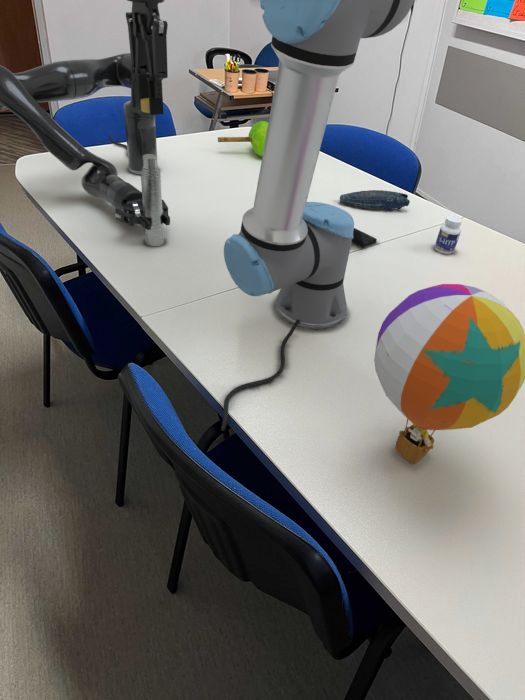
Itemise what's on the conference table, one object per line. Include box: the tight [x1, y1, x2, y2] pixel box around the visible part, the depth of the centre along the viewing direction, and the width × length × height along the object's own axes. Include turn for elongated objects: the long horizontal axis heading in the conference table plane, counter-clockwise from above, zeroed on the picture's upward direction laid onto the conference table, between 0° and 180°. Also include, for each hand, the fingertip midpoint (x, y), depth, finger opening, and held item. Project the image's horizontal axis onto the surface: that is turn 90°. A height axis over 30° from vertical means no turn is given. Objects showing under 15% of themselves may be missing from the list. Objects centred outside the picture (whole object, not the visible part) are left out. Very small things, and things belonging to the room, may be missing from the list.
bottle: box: [140, 154, 165, 247], centre depth 125 cm, size 4×4×22 cm
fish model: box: [339, 189, 411, 211], centre depth 158 cm, size 7×21×5 cm, turn 84°
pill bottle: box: [434, 215, 463, 255], centre depth 137 cm, size 5×5×9 cm
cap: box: [141, 98, 150, 113], centre depth 109 cm, size 4×4×2 cm
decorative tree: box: [217, 120, 269, 157], centre depth 187 cm, size 18×10×30 cm
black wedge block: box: [351, 227, 378, 249], centre depth 139 cm, size 12×7×10 cm
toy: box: [373, 283, 525, 466], centre depth 73 cm, size 20×20×30 cm
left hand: (158, 223), depth 126 cm, fingers closed on bottle, 4 cm apart
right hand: (151, 110), depth 110 cm, fingers closed on cap, 4 cm apart
